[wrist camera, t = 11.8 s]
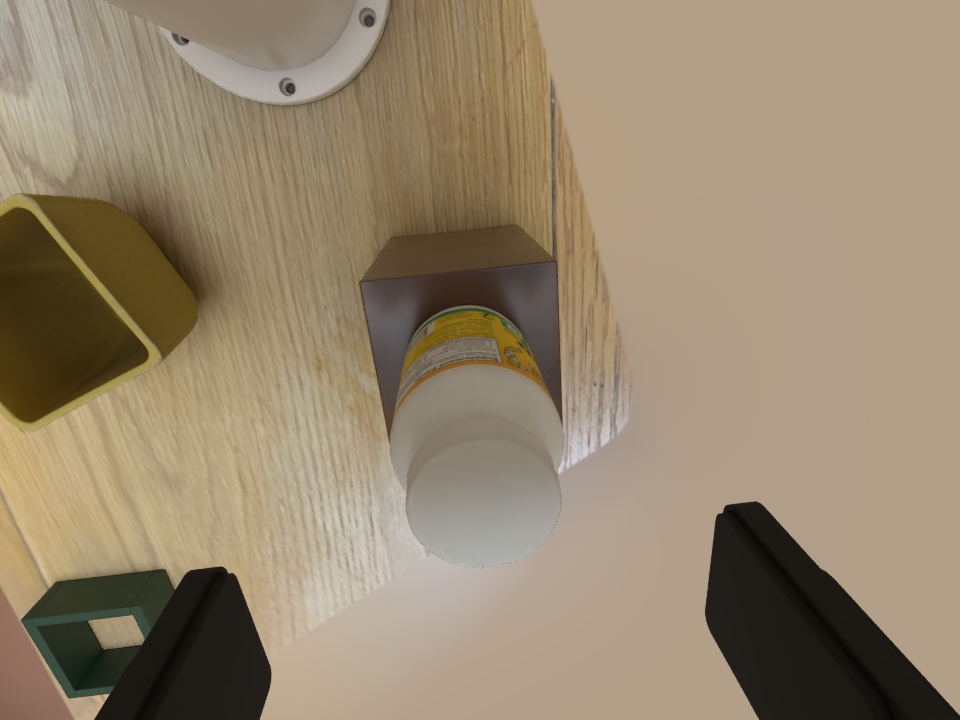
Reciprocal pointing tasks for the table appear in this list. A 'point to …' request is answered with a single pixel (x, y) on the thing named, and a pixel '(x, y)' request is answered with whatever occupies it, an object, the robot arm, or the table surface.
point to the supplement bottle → (476, 440)
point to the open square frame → (70, 637)
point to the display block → (461, 296)
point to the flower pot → (80, 304)
